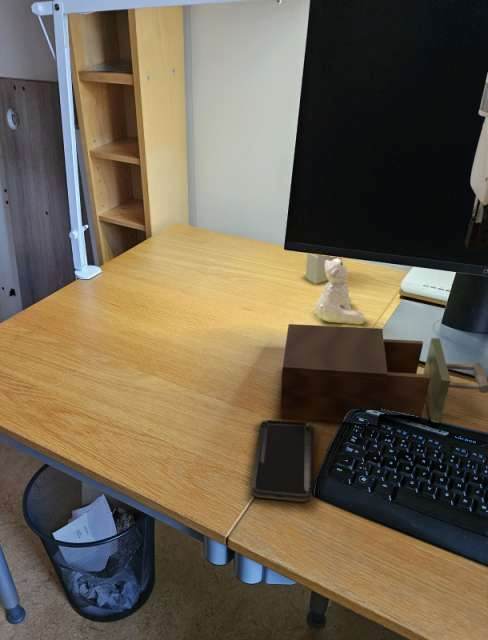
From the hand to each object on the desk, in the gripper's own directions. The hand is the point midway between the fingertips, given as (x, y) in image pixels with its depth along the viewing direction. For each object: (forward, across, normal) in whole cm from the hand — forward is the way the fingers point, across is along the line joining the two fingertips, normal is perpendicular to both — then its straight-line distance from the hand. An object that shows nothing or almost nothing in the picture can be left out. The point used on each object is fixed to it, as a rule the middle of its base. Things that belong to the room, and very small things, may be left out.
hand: (477, 248), depth 77 cm
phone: (+23, -22, +24) cm, 40 cm away
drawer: (+22, -6, +6) cm, 24 cm away
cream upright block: (+23, +39, +20) cm, 50 cm away
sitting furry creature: (+23, +21, +17) cm, 36 cm away
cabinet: (+23, -6, +18) cm, 30 cm away
